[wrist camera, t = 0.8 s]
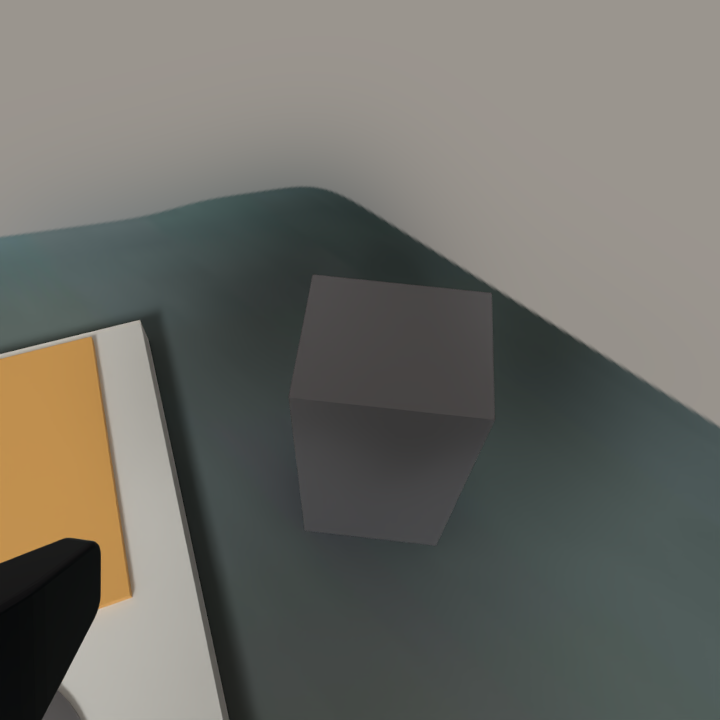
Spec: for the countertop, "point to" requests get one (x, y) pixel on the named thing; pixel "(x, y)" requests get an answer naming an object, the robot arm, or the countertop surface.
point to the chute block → (389, 405)
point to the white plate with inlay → (109, 522)
